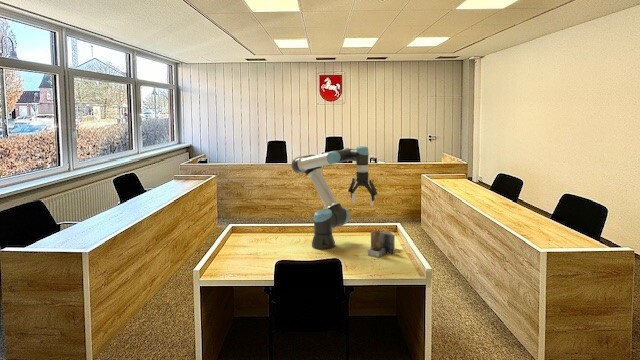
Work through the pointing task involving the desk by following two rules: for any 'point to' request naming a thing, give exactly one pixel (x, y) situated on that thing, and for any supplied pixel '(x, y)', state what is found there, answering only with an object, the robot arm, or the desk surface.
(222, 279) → the desk surface
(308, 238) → the desk surface
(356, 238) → the desk surface
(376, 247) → the handle
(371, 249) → the bracket
